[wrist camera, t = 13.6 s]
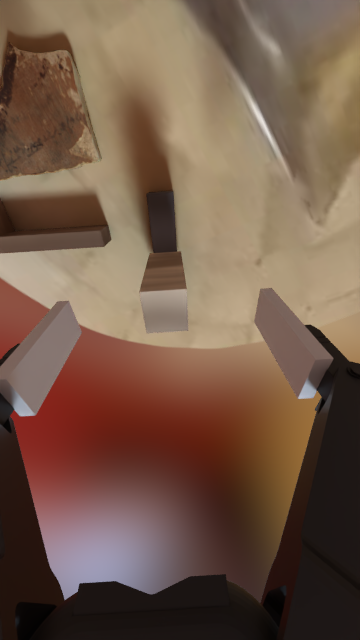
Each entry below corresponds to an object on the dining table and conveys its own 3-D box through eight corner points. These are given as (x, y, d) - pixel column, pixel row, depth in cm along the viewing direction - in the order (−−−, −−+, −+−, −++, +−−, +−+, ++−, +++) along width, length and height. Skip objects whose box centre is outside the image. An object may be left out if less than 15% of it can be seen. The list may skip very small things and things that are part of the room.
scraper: (145, 192, 21) (123, 203, 11) (176, 190, 21) (183, 199, 11) (159, 310, 29) (154, 379, 19) (183, 309, 29) (190, 376, 19)
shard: (-3, 182, 20) (-17, 182, 19) (-63, 66, 16) (-86, 54, 15) (105, 165, 20) (100, 164, 19) (72, 41, 16) (62, 27, 14)
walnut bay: (-136, -45, 13) (-207, -96, 11) (45, -55, 13) (16, -109, 11) (8, 246, 23) (-11, 254, 21) (111, 239, 23) (104, 246, 21)
